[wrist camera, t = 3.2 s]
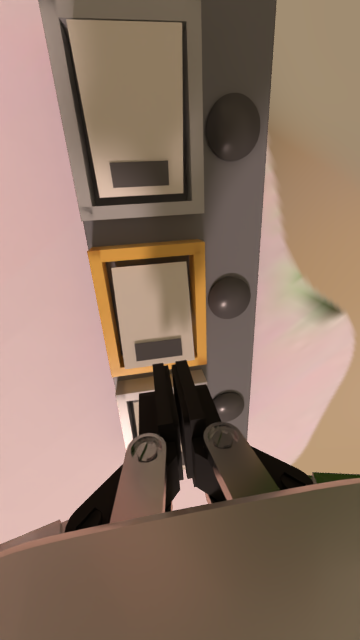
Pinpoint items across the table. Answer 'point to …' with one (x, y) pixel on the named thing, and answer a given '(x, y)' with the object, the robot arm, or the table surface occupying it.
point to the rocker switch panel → (184, 188)
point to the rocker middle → (154, 313)
